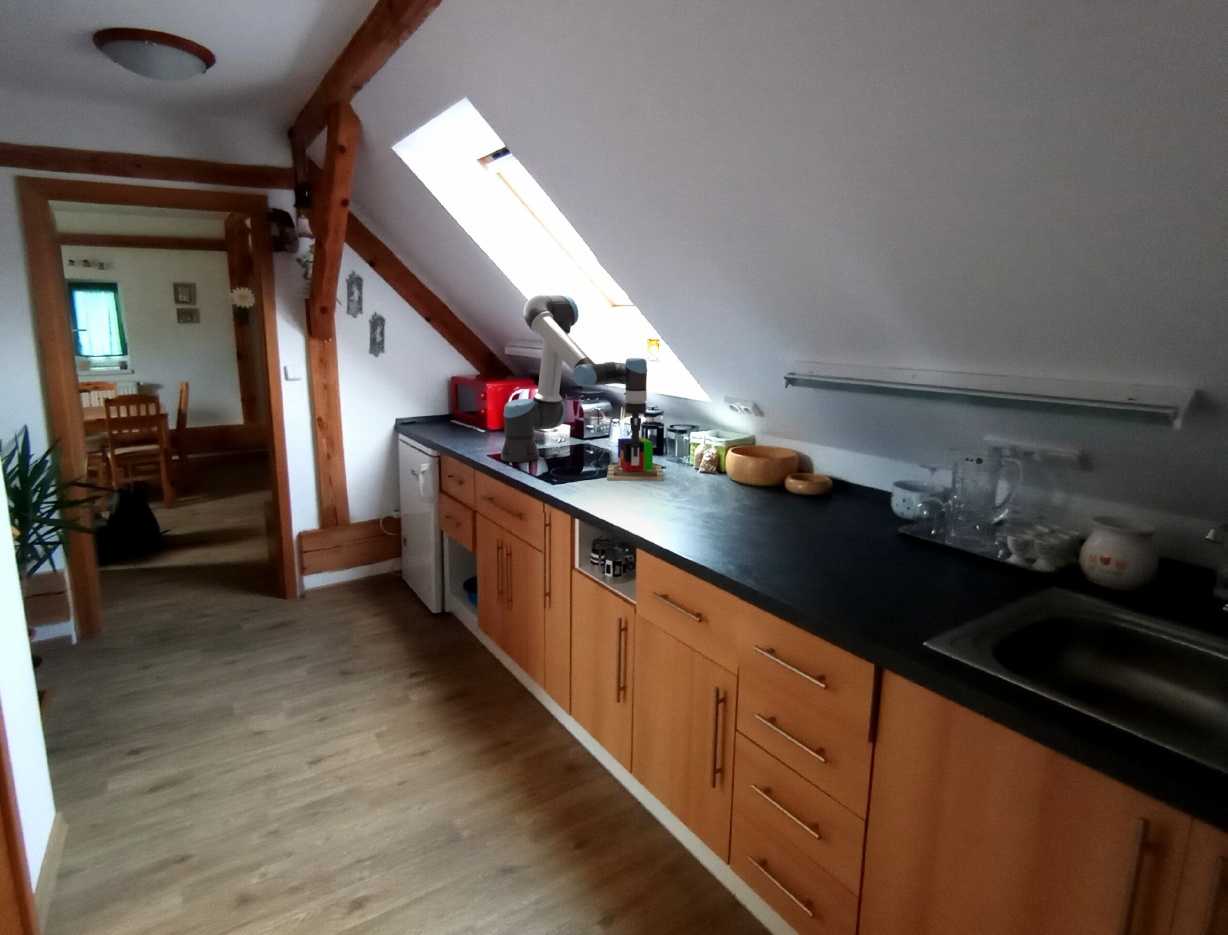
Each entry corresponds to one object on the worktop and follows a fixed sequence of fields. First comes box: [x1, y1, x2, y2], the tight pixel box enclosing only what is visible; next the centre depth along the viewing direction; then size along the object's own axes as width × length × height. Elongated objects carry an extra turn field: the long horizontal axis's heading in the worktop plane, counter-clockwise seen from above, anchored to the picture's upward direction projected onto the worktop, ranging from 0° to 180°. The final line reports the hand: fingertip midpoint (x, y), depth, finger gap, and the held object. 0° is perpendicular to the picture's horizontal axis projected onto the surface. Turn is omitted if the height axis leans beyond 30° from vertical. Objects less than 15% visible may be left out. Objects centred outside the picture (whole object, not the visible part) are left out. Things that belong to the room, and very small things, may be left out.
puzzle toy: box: [617, 437, 654, 471], centre depth 254 cm, size 10×10×10 cm
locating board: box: [606, 462, 665, 482], centre depth 255 cm, size 20×20×2 cm
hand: (635, 461), depth 254 cm, fingers closed on puzzle toy, 11 cm apart
